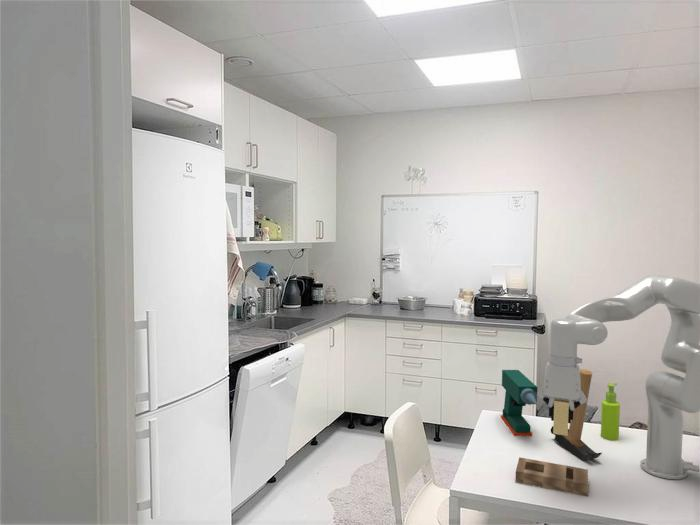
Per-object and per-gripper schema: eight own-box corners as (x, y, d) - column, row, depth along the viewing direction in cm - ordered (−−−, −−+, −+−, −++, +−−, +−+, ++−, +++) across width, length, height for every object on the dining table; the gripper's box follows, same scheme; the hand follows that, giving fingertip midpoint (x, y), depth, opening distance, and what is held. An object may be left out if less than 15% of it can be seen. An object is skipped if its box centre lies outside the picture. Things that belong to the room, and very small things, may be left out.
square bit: (567, 430, 153) (568, 398, 152) (567, 435, 149) (568, 402, 149) (553, 428, 155) (554, 396, 154) (553, 433, 151) (554, 400, 150)
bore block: (587, 480, 155) (587, 469, 154) (588, 496, 146) (588, 484, 145) (519, 467, 163) (519, 457, 163) (515, 482, 154) (515, 470, 154)
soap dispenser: (621, 436, 187) (623, 383, 186) (616, 442, 182) (618, 387, 181) (604, 431, 191) (605, 380, 190) (598, 437, 186) (600, 384, 185)
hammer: (599, 468, 167) (614, 386, 160) (586, 470, 166) (600, 387, 158) (561, 433, 186) (573, 358, 179) (549, 435, 185) (561, 359, 177)
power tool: (547, 452, 174) (548, 395, 173) (526, 452, 174) (527, 395, 173) (518, 417, 206) (519, 369, 205) (500, 417, 206) (501, 369, 205)
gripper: (593, 360, 151) (591, 420, 152) (534, 354, 157) (532, 412, 159) (594, 366, 144) (592, 429, 145) (532, 360, 151) (530, 420, 152)
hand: (560, 419), depth 152 cm, fingers closed on square bit, 4 cm apart
